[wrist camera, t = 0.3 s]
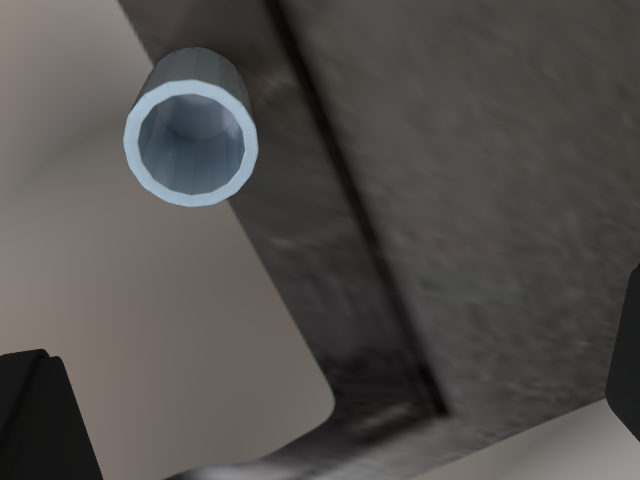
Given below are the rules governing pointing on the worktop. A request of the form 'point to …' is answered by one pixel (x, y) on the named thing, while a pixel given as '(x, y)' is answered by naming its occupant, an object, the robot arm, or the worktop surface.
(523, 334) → the worktop surface
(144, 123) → the cup
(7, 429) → the robot arm
